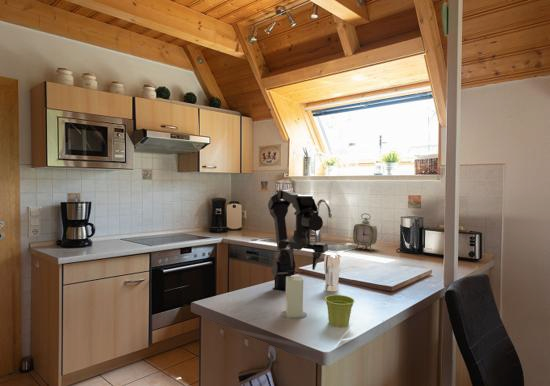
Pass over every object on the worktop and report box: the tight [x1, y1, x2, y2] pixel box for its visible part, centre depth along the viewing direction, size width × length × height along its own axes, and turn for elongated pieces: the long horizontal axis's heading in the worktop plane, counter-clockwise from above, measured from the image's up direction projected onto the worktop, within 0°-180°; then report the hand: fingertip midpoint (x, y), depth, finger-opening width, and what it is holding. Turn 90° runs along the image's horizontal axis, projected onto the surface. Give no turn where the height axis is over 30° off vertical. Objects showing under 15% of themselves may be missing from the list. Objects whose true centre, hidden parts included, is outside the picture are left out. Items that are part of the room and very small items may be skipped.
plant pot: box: [324, 294, 355, 328], centre depth 122 cm, size 9×9×9 cm
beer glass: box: [323, 253, 342, 293], centre depth 162 cm, size 7×7×15 cm
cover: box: [284, 275, 304, 317], centre depth 129 cm, size 5×5×12 cm
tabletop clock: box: [352, 213, 378, 252], centre depth 262 cm, size 14×9×25 cm, turn 53°
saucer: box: [280, 310, 308, 320], centre depth 129 cm, size 9×9×1 cm
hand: (302, 268), depth 145 cm, fingers open, 9 cm apart
